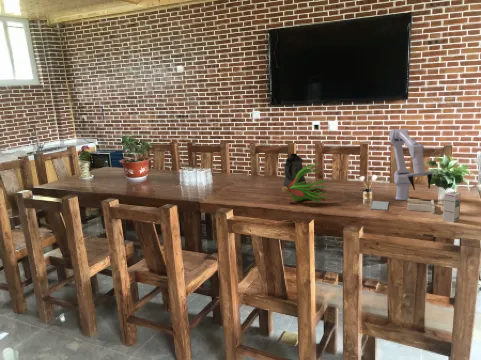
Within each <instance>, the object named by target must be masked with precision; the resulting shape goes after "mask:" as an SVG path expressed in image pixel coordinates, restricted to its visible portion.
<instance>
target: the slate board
mask: <svg viewBox="0 0 481 360" xmlns="http://www.w3.org/2000/svg"><path fill="white" fill-rule="evenodd" d="M389 203H390V202H389V201H380V200H373V201H372V202H371V206H370V210H374V211H375V210H377V211H388V208H389Z"/></svg>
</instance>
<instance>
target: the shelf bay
mask: <svg viewBox="0 0 481 360" xmlns="http://www.w3.org/2000/svg"><path fill="white" fill-rule="evenodd" d="M434 201H435V200H434V199H431V200H430V201H427V200H421V204H408V203H407V204H408V206H407V205H406V207H407V208H406V210H407V211H414V212H415V211H416V212H428V213H429V212H430V213H431V214H432V215H435V211H436V210H435V209H436V206H435V202H434Z"/></svg>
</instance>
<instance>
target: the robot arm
mask: <svg viewBox="0 0 481 360" xmlns="http://www.w3.org/2000/svg"><path fill="white" fill-rule="evenodd" d="M389 141H390V144H392V146H393V150H394V156H395V162H396V168H397V170H396V171H395V172H394V173H393V176H394V177H393V181H394V184H396V193H395V194H396V195H395V200H397V201H398V200H399V201H408V199H411V198H410V186H412V188H413V191H416V187H415V183H414V178H417V177H426V176H427V185H428V188H427V189H431V183H432V178H433V176H435V170H431V171H426V169H425V160H424V152H425V146H424V144H420V143H418V141H417V140H416V139H415V138H414V137H411V136H410V135H409V129H407V128H398V129H397V128H396V129H390V132H389ZM404 144H405V146H406V147H407V148H408V151H409V153H408V154H409V155H410V158H411V161H412V167H413V172H412V171H411V170H409V169H408V168H407V165H406V160H405V154H404V150H403V145H404Z"/></svg>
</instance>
